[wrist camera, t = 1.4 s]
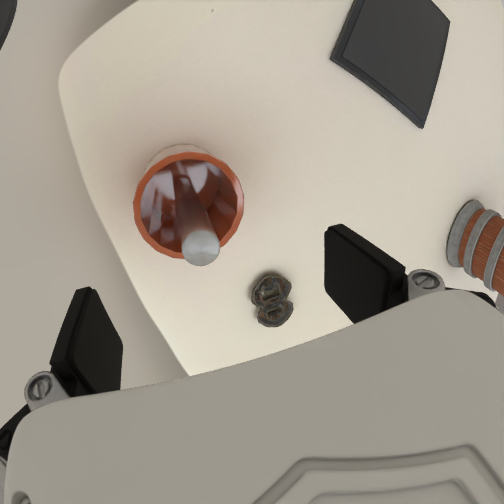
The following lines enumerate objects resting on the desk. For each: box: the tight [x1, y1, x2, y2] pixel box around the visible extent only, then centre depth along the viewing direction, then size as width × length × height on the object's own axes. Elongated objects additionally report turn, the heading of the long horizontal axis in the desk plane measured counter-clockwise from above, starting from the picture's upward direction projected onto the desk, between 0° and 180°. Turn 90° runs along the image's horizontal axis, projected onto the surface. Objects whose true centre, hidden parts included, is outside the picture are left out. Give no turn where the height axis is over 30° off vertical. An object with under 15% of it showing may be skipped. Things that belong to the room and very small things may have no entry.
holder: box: [133, 144, 244, 259], centre depth 22 cm, size 8×8×8 cm
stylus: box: [173, 178, 220, 266], centre depth 19 cm, size 2×2×14 cm
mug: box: [447, 200, 504, 296], centre depth 37 cm, size 14×19×15 cm
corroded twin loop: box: [251, 275, 293, 327], centre depth 34 cm, size 5×8×1 cm, turn 12°
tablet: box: [330, 0, 450, 129], centre depth 23 cm, size 16×22×1 cm
